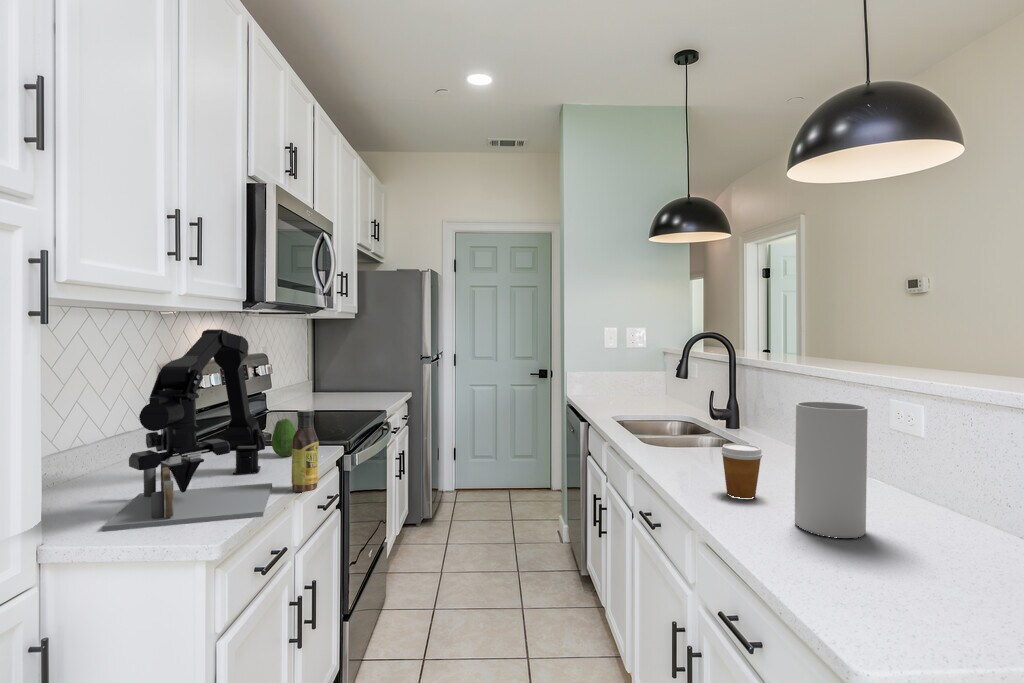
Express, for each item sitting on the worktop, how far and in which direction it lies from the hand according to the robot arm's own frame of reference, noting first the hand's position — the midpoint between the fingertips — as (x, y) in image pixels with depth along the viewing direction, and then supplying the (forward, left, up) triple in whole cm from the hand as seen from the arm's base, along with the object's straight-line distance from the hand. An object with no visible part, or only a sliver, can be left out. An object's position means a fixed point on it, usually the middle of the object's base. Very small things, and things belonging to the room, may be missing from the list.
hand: (182, 492), depth 124 cm
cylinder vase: (+54, +126, -4) cm, 137 cm away
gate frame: (-2, +3, -4) cm, 5 cm away
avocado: (-50, +18, -4) cm, 54 cm away
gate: (-1, -3, -3) cm, 4 cm away
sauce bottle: (-9, +25, -4) cm, 27 cm away
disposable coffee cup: (+30, +125, -4) cm, 129 cm away
